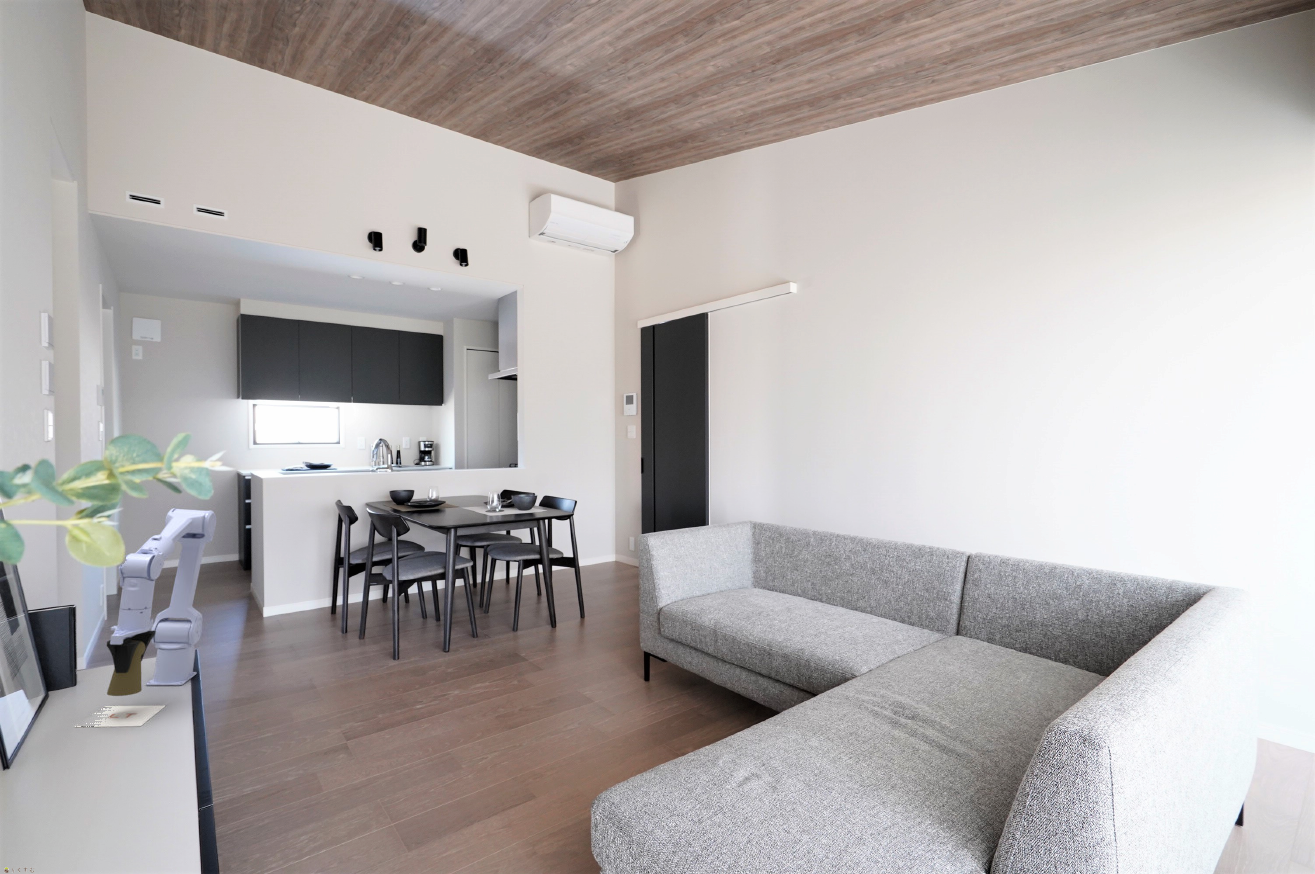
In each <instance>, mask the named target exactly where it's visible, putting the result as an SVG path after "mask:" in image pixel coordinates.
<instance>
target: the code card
mask: <svg viewBox="0 0 1315 874" xmlns="http://www.w3.org/2000/svg"><path fill="white" fill-rule="evenodd" d="M104 707H112V708H111V709H109V708H107V709H105V708H103V707H102V708H103V710H107V711H105V712H103V713H102V714H108V716H107V715H106V716H105V715H104V716H103V715H102V716H100V717H108V718H107V719H106V720H105V718H103V719H102V720H101V719H100V720H95V721H102V722H101V723H100V722H99V723H98V722H97V723H96V722H95V723H94V724H101V725H99V726H98V725H95V726H94V727H93V728H113V727H114V728H117V727H118V728H119V727H121V728H122V727H123V728H125V727H126V728H128V727H130V728H131V727H142V726H143V725H144V724H145V723H147V722H148V721H150V719H152V718H153V717H154V716H155V715H157V714H158V713H159V712H160V711H162V710H163V709H164V708H166V705H105V706H104ZM102 708H100V709H101V710H102ZM108 710H111V711H108ZM113 710H114V711H113ZM93 714H96V712H94V713H93ZM97 714H101V713H97ZM98 717H99V716H98ZM109 717H110V718H109ZM105 721H106V722H105ZM86 724H87V723H86ZM90 724H91V723H90ZM92 724H93V723H92ZM74 728H82V727H81V726H77V727H76V725H75V726H74ZM85 728H92V727H91V726H90V727H89V726H88V727H87V726H86V727H85Z"/></svg>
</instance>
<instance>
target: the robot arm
mask: <svg viewBox="0 0 1315 874" xmlns="http://www.w3.org/2000/svg"><path fill="white" fill-rule="evenodd" d="M216 526H217V515H216V513H215V512H214V511H213V510H198V509H182V508H176V507H175V508H173V507H172V508H171V509H170V510H169V511H168V512H167V514H166V516H165V521H164V528H163V529H162V531H160V533H159V534H156V535H154V534H153V536H151V537H150V538H148V539H147V540H146V542H144V544H142V546H141V547H140V548H139V549H138V550H137V551H136V552H134V553H132V552H131V553H129V554H128V555H125V556H126V561H125V563H124V564H122V565H120V564H119V567H118V576H119V586H120V588H121V589H122V590H121V597H120V604H119V609H118V619H117V625H113V626H111V627H110V631H111V632H113V634H111V635H110V640H108V641H106V648H108V650H109V652H110V654H111V657H112V661H113V667H114V668H113V669H115V672H116V673H127V672H128V670H129V668H130V665H131V661H132V657H133V654H134V652H135V650H136V648H137V646H138V645H139V643H140V641H142V642H143V643H144V644H145V651H144V653H143V654H142V655H141V662H143V659H144V656H145V654H146V651H147V648H148V647H149V645H150V643H152V644H153V645H154V648H155V649H157V651H156V657H155V663H154V664H155V665H154V672H153V678H152V679H150V680H149V681H147V682H146V683H145V685H146V686H182V685H184V684H185V683H187V682H188V681H189V680H190V679H192V678H193V677H194V676H195V675H197V671H194V663H195V656H196V649H195V646H194V645H196V644H197V643H198V642H199V641H200V638H201V636H202V632H203V619H204V618H203V614H202V613H201V612H200V611H198V610H197V609H196V608H195V607H193V604H194V598H195V594H196V589H197V586H198V585H197V584H198V579H199V575H200V570H201V565H202V560H203V554H204V550H205V547H206V544H209V543H211V542H213V540H214V539H213V538H214V535H215V531H216ZM177 542H179V543H180V545H181V550H180V555H179V561H178V565H177V569H176V574H175V579H174V583H173V589H172V592H171V598H170V603H169V607H167V608H166V609H164V610H163V611H160V612H159V613H157V614H156V617H155V619H153V618H151V617H152V609H153V600H154V592H155V587H156V586H155V585H156V580H157V579H158V578H160V575H161V573H162V569H163V568H164V566H165V561H166V560H167V559H168V558H169V557H170V556H171V555H172V553H173V552H174V551H175V549H176V545H175V544H176V543H177Z"/></svg>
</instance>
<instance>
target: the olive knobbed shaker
mask: <svg viewBox="0 0 1315 874" xmlns="http://www.w3.org/2000/svg"><path fill="white" fill-rule="evenodd" d="M144 651H145V644H144V643H143V642H142V641H140V643H139V645H138V646H137V648H136V650H135V652H134V654H133V657H132V661H131V665H130V668H129V670H128V672H127V673H116V672H115V668H113V673H112V676H111V679H110V682H109V686H108V688H107V692H106V695H108V696H109V697H110V696H113V697H126V696H133V695H135V694H138V693H140V692H142V689H143V688H142V687H143V686H142V661H141V655H142V654H143V653H144ZM145 652H146V651H145Z"/></svg>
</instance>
